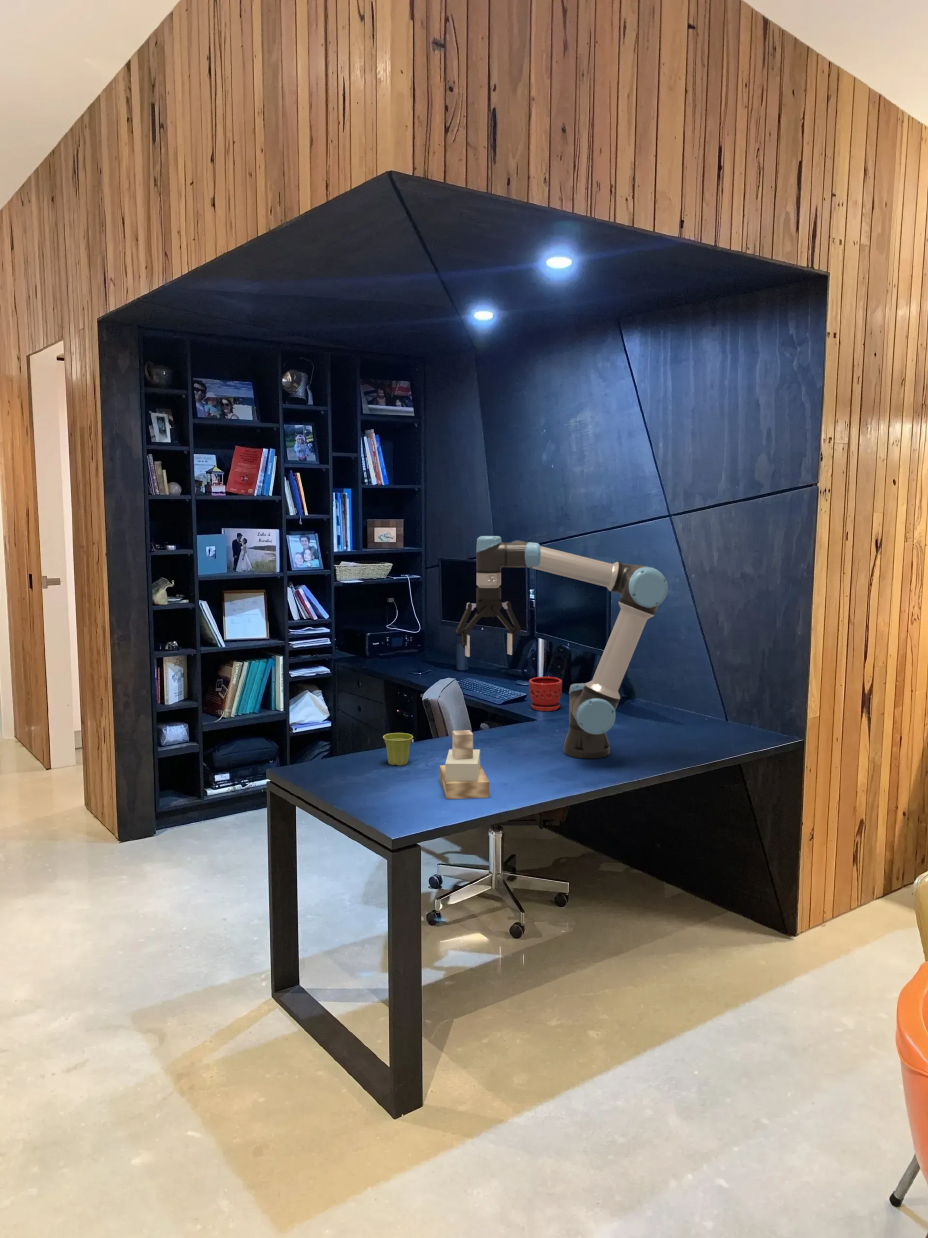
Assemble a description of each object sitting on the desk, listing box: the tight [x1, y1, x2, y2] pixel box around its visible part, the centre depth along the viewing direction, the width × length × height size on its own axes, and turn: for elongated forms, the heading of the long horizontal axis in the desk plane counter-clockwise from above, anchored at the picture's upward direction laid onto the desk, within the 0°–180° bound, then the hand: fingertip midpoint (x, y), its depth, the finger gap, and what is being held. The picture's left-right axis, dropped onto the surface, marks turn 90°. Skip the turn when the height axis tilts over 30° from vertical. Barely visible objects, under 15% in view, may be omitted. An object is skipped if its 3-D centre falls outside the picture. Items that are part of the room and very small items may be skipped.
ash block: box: [451, 729, 474, 759], centre depth 260 cm, size 5×5×7 cm
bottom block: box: [439, 764, 490, 800], centre depth 262 cm, size 12×18×5 cm, turn 7°
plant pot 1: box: [382, 732, 414, 767], centre depth 287 cm, size 9×9×9 cm
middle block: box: [444, 748, 481, 781], centre depth 261 cm, size 9×15×5 cm, turn 177°
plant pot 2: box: [528, 676, 563, 712], centre depth 364 cm, size 13×13×12 cm
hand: (488, 655), depth 282 cm, fingers open, 13 cm apart
